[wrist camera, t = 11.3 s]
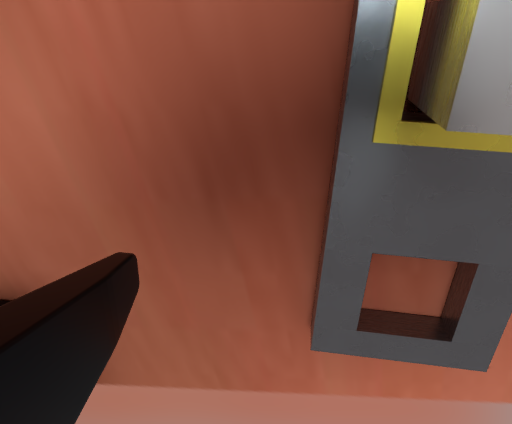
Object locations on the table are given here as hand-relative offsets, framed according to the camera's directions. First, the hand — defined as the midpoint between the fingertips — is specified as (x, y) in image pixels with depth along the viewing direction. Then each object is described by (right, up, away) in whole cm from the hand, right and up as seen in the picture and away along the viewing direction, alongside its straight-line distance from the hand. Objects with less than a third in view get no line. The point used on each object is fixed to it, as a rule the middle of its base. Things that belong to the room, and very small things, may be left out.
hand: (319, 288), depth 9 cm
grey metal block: (+8, +9, +8) cm, 14 cm away
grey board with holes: (+7, +3, +11) cm, 14 cm away
